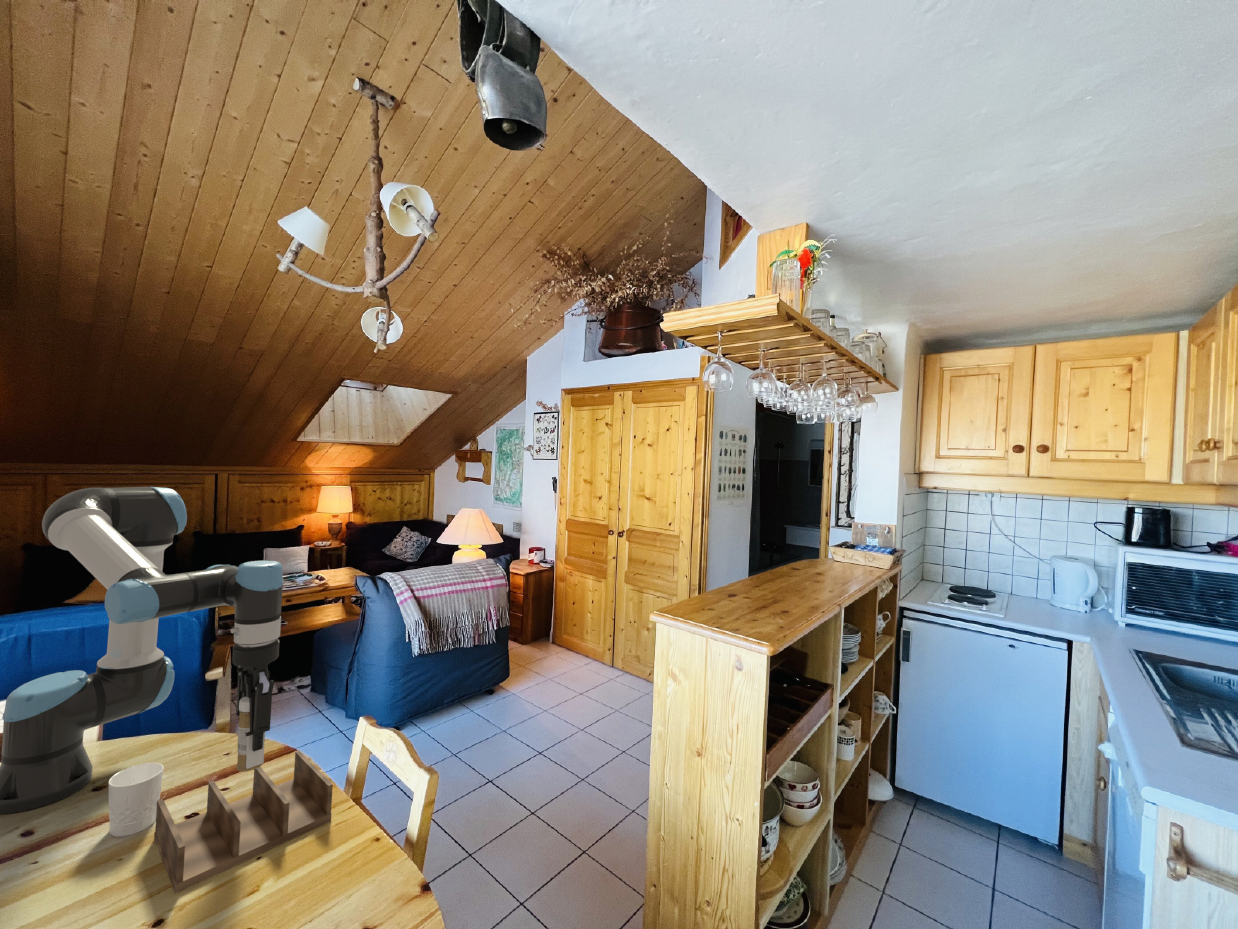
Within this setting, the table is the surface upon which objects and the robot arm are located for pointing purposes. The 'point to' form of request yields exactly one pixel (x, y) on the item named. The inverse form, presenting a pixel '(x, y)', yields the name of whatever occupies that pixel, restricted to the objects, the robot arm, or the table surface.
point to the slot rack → (242, 824)
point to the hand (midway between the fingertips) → (250, 760)
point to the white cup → (134, 798)
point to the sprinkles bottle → (243, 734)
